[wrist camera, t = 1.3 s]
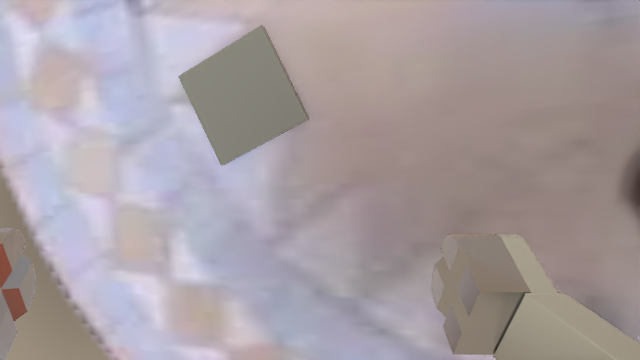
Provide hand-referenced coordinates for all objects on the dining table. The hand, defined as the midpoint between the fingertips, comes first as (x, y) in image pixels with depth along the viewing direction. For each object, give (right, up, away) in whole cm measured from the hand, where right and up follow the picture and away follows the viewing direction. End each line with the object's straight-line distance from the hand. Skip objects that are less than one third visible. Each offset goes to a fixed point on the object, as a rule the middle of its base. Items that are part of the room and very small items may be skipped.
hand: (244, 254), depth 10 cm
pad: (-5, +9, +35) cm, 36 cm away
